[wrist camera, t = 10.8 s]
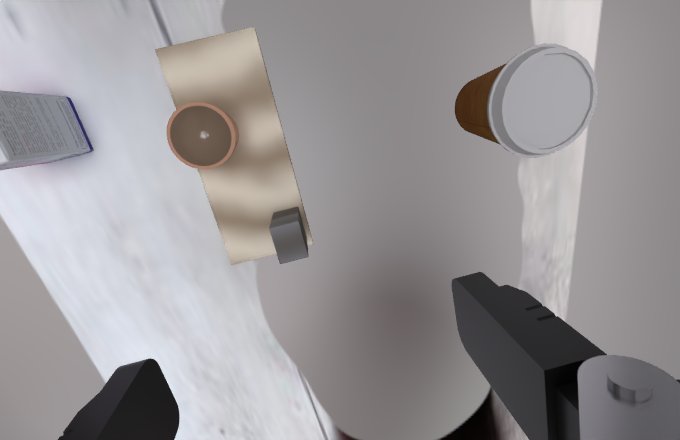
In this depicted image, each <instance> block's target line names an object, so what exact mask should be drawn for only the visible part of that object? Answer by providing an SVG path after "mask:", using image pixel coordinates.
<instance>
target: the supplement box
mask: <svg viewBox="0 0 680 440" xmlns="http://www.w3.org/2000/svg"><path fill="white" fill-rule="evenodd" d="M91 151H93V148H92V146H91V143H90V141H89V139H88V137H87V135H86V133H85V131H84V128H83V126H82V124H81V122H80V119H79V117H78V115H77V112H76V110H75V108H74V106H73V104H72V102H71V100H70V98H68V97H61V96H51V95H40V94H30V93H21V92H10V91H0V170H4V169H11V168H18V167H24V166H30V165H36V164H44V163H49V162H53V161H58V160H62V159H65V158H69V157H73V156H77V155H81V154H84V153H88V152H91Z"/></svg>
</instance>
